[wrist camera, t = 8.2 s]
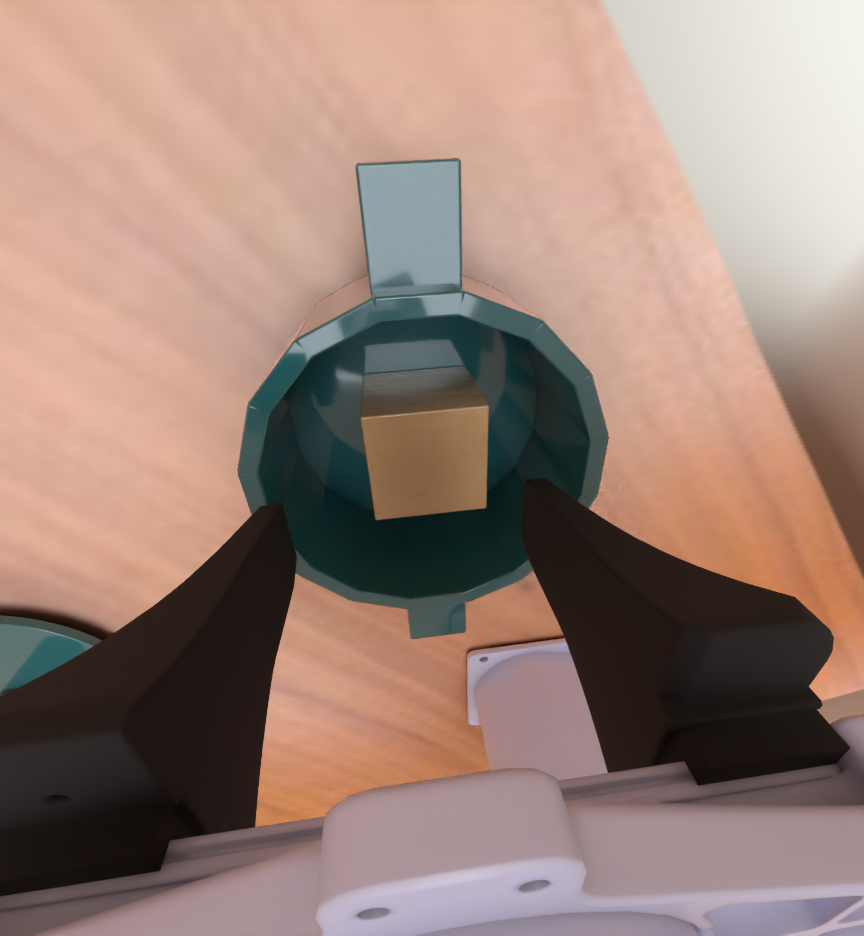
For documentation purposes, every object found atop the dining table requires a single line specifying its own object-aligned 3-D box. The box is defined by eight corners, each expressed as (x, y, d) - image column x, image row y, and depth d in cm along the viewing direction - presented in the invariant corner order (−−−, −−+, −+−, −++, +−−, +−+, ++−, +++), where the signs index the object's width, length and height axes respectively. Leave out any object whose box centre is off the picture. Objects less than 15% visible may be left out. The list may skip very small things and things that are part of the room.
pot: (569, 165, 14) (664, 144, 9) (532, 547, 23) (571, 633, 18) (216, 183, 13) (133, 170, 9) (318, 572, 22) (303, 669, 17)
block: (466, 365, 17) (489, 405, 13) (466, 454, 19) (486, 508, 15) (363, 374, 16) (359, 417, 13) (375, 463, 18) (375, 521, 15)
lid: (105, 589, 21) (48, 671, 17) (192, 725, 27) (164, 805, 24) (-173, 622, 20) (-295, 714, 16) (-14, 754, 26) (-77, 841, 23)
